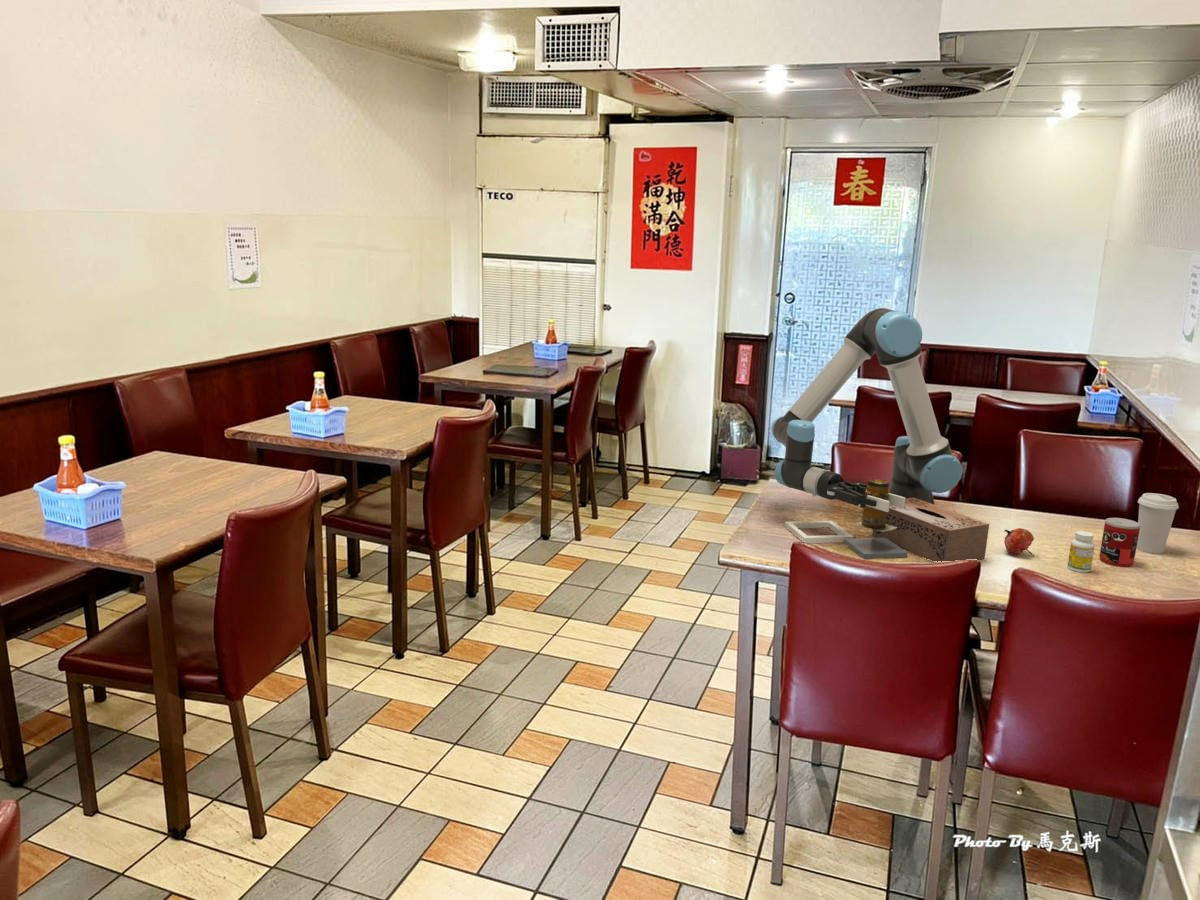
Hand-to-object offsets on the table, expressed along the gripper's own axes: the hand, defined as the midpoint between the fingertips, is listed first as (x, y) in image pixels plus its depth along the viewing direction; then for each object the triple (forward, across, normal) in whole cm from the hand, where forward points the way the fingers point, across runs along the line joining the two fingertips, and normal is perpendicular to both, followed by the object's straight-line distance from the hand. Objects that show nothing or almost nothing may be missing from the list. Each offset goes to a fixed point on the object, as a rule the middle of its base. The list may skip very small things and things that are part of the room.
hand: (896, 504), depth 232 cm
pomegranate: (+18, -31, -14) cm, 39 cm away
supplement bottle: (+33, -33, -14) cm, 49 cm away
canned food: (+36, -48, -14) cm, 61 cm away
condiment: (-5, 0, -7) cm, 9 cm away
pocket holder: (-22, +2, -14) cm, 26 cm away
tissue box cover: (+1, -14, -14) cm, 20 cm away
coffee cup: (+37, -66, -14) cm, 77 cm away
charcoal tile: (-5, 0, -14) cm, 15 cm away
